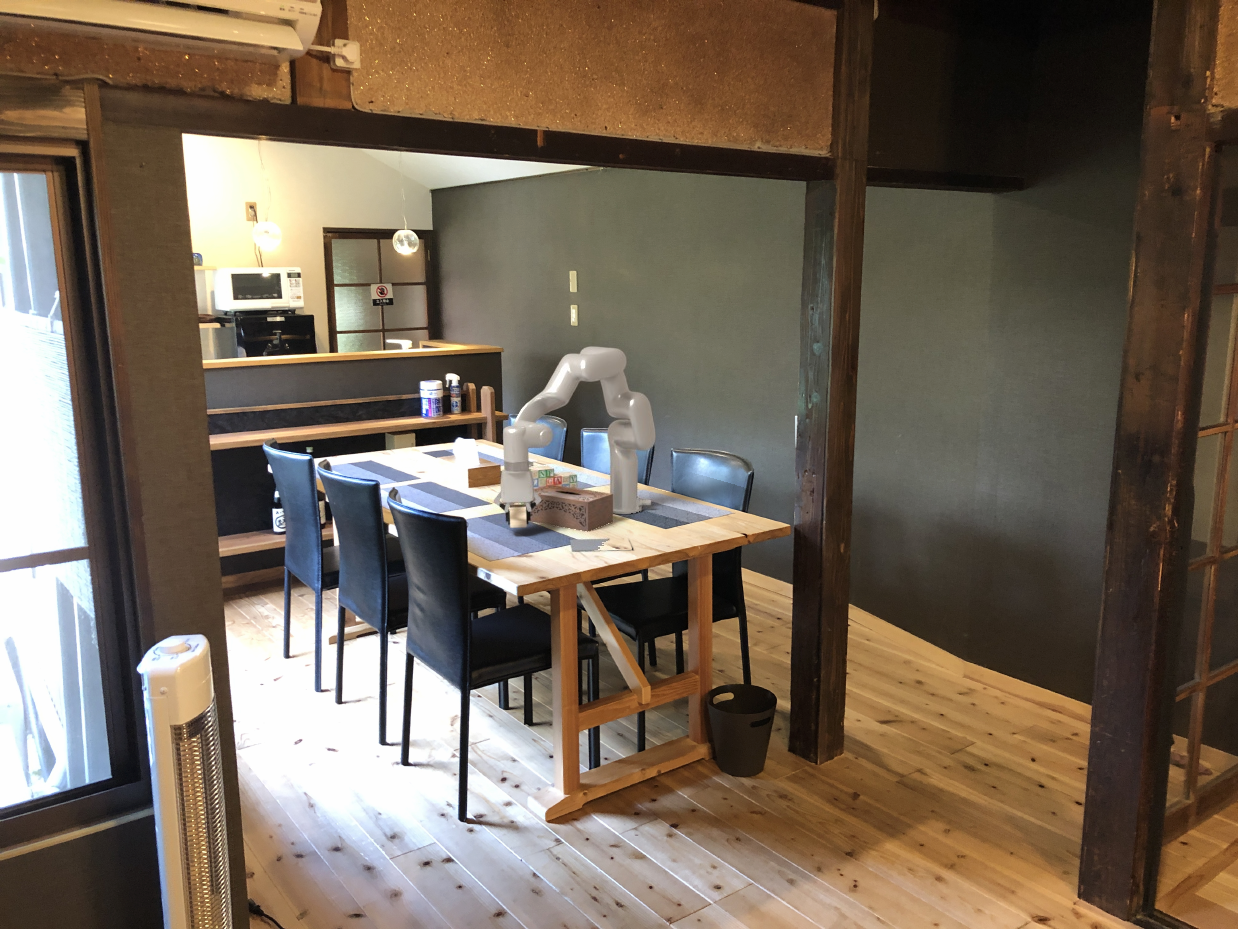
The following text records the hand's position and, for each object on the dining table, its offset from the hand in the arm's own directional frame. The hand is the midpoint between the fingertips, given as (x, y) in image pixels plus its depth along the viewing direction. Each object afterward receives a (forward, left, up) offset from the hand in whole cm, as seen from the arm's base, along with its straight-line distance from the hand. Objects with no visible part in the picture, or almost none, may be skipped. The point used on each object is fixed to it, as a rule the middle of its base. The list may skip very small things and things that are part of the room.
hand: (518, 522), depth 292 cm
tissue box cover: (-17, -17, -5) cm, 24 cm away
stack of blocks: (-11, -49, -5) cm, 50 cm away
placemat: (-25, +13, -4) cm, 28 cm away
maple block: (0, 0, -1) cm, 1 cm away
